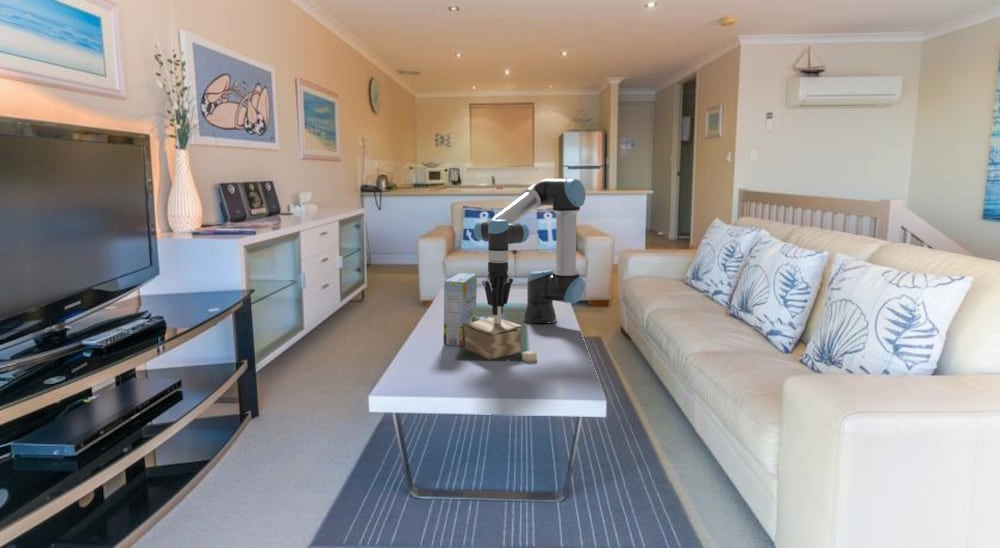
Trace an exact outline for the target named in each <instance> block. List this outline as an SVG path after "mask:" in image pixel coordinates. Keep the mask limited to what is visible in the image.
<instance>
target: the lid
mask: <svg viewBox="0 0 1000 548" xmlns="http://www.w3.org/2000/svg"><path fill="white" fill-rule="evenodd" d="M465 326H467V327H470V328H472V329H475V330H478V331H480V332H483V333H485V334H488V335H494V334H498V333H502V332H506V331H510V330H514V329H521V328H522V325H521V324H518V323H515V322H512V321H509V320H506V319H503V318H501V324H496V323H494V316H493V317H489V318H485V319H480V320H476V321H475V322H471V323H467V324H465Z"/></svg>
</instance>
